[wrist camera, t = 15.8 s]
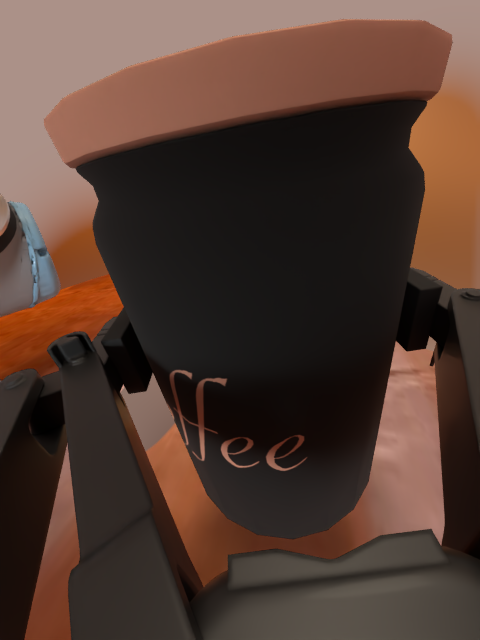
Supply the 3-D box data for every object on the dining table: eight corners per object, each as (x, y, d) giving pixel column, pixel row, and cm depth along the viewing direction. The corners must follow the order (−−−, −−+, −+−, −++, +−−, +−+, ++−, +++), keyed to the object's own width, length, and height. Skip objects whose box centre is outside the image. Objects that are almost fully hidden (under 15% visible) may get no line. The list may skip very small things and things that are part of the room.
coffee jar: (175, 442, 19) (36, 149, 10) (282, 368, 24) (258, 124, 14) (275, 614, 11) (53, -60, 2) (405, 454, 16) (533, 35, 6)
